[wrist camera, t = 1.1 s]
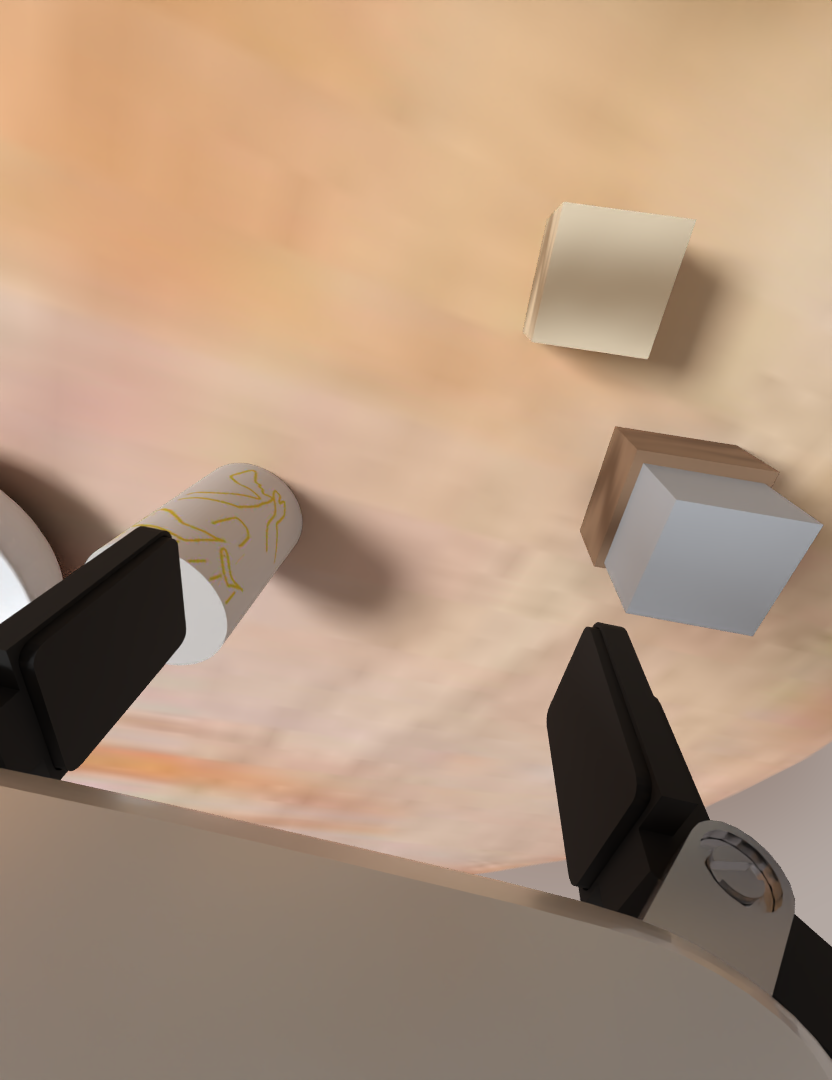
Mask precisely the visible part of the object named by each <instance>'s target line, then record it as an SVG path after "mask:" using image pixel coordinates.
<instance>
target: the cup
mask: <svg viewBox="0 0 832 1080" xmlns="http://www.w3.org/2000/svg"><path fill="white" fill-rule="evenodd" d="M140 526H146V527H151V528H156V529H160V530H165V531H168V532H170V534H171V536H172V539H175V540H176V541H177V542H178V548H179V559H180V569H181V579H182V589H183V599H184V610H185V620H186V636H185V639H184V641H183V643H182V644H181V646H180V647H179V648H178V649H177V651H176V652H175V653H174V654H173V655H172V657H171V658H170V659H169V660H168V661H167V663H166V664H170V665H190V664H196V663H199V662H202V661H205V660H207V659H209V658H210V657H212V656H213V655H214V654H215V653H217V651H218V650H219V649H220V648H221V646H222V645H223V644H224V642H225V641H226V640H227V638H228V637H229V635H230V634H231V633H232V631H233V630H234V629H235V627H236V626H237V624H238V623H239V622H240V620H241V619H242V618H243V616H244V615H245V613H246V612H247V611H248V609H249V608H250V607H251V605H252V604H253V602H254V601H255V600H256V598H257V597H258V596H259V594H260V593H261V591H262V590H263V589H264V587H265V586H266V585H267V583H268V582H269V580H270V579H271V578H272V576H273V575H274V574H275V572H276V571H277V569H278V568H279V567H280V565H281V564H282V563H283V561H284V560H285V558H286V557H287V556H288V554H289V553H290V552H291V550H292V549H293V547H294V546H295V545H296V543H297V542H298V540H299V538H300V535H301V531H302V514H301V510H300V506H299V504H298V502H297V500H296V498H295V496H294V494H293V493H292V491H291V490H290V489H289V487H288V486H287V485H286V484H285V483H284V482H283V481H282V480H281V479H279V478H278V477H277V476H276V475H274V474H273V473H271V472H269V471H267V470H266V469H263V468H261V467H258V466H255V465H251V464H245V463H233V464H227V465H224V466H221V467H219V468H217V469H216V470H214V471H213V472H211V473H210V474H208V475H207V476H205V477H204V478H202V479H201V480H199V481H198V482H196V483H195V484H194V485H192V486H191V487H189V488H188V489H186V490H185V491H183V492H182V493H180V494H179V495H177V496H176V497H174V498H173V499H172V500H170V501H169V502H167V503H166V504H164V505H163V506H161V507H160V508H158V509H157V510H155V511H154V512H152V513H151V514H150V515H148V516H147V517H145V518H144V519H142V520H141V521H139V522H138V523H136V524H135V525H133V526H132V527H130V528H129V529H128V530H126V531H125V532H123V533H122V534H120V535H119V536H117V537H116V538H114V539H113V540H111V541H110V542H108V543H107V544H105V545H104V546H103V547H101V548H100V549H98V550H97V551H95V552H94V553H93V554H92V555H91V556H90V557H89V558H88V560H87V561H86V563H87V562H89V561H90V560H92V559H93V558H94V557H96V556H97V555H99V554H100V553H102V552H103V551H104V550H106V549H107V548H109V547H110V546H112V545H113V544H114V543H116V542H117V541H119V540H120V539H122V538H123V537H124V536H126V535H127V534H129V533H130V532H132V531H133V530H134V529H136V528H138V527H140ZM86 563H85V564H86Z"/></svg>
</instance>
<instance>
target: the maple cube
mask: <svg viewBox="0 0 832 1080" xmlns="http://www.w3.org/2000/svg"><path fill="white" fill-rule="evenodd" d="M695 222H696V219H688V218H681V217H673V216H666V215H658V214H651V213H643V212H636V211H628V210H621V209H614V208H606V207H599V206H591V205H584V204H576V203H569V202H563V203H562V204H561V205H560V206H559V207H558V208H557V209H556V210H555V211H554V212H553V213H552V215H551V216H550V217H549V218H548V219H547V221H546V226H545V230H544V235H543V239H542V244H541V249H540V253H539V258H538V262H537V267H536V272H535V276H534V281H533V285H532V290H531V295H530V299H529V304H528V308H527V313H526V318H525V322H524V327H523V333H524V334H525V335H526V336H527V337H528V338H529V340H530V341H531V342H535V343H542V344H548V345H555V346H562V347H569V348H575V349H582V350H589V351H595V352H602V353H609V354H615V355H622V356H629V357H635V358H642V359H648V357H649V354H650V352H651V349H652V346H653V343H654V340H655V337H656V334H657V331H658V328H659V326H660V323H661V320H662V317H663V314H664V311H665V308H666V305H667V303H668V300H669V297H670V294H671V291H672V288H673V285H674V282H675V280H676V277H677V274H678V271H679V268H680V265H681V262H682V259H683V257H684V254H685V251H686V248H687V245H688V242H689V239H690V236H691V234H692V231H693V228H694V225H695Z"/></svg>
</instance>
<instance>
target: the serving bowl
mask: <svg viewBox="0 0 832 1080" xmlns="http://www.w3.org/2000/svg"><path fill="white" fill-rule="evenodd" d="M62 580H63V578H62V574H61V570H60V567H59V564H58V562H57V559H56V556H55V554H54V552H53V550H52V548H51V547H50V545H49V543H48V541H47V540H46V538H45V537H44V535H43V534H42V532H41V531H40V529H39V528H38V527H37V525H36V524H35V523H34V522H33V520H32V519H31V518H30V517H29V516H28V515H27V514H26V513H25V511H24V510H23V509H22V508H21V507H20V506H19V505H18V504H16V503H15V502H14V501H13V500H12V499H11V498H10V497H9V496H7V495H6V494H5V493H4V492H3V491H1V490H0V623H2V622H3V621H5V620H6V619H8V618H9V617H10V616H12V615H13V614H15V613H16V612H18V611H19V610H20V609H22V608H23V607H25V606H26V605H27V604H29V603H30V602H32V601H33V600H35V599H36V598H37V597H39V596H40V595H42V594H43V593H45V592H46V591H47V590H49V589H50V588H52V587H53V586H55V585H56V584H57V583H59V582H60V581H62Z"/></svg>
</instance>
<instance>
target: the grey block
mask: <svg viewBox="0 0 832 1080" xmlns="http://www.w3.org/2000/svg"><path fill="white" fill-rule="evenodd" d="M822 527H823V524H821V523H820V522H818V521H817V520H816V519H814V518H813V517H811V516H810V515H809V514H807V513H806V512H804V511H803V510H801V509H800V508H799V507H797V506H796V505H794V504H793V503H791V502H790V501H789V500H787V499H786V498H784V497H783V496H782V495H780V494H779V493H777V492H776V491H774V490H773V489H772V488H770V487H769V486H767V485H766V484H764V483H758V482H752V481H746V480H740V479H734V478H728V477H723V476H717V475H711V474H705V473H699V472H693V471H687V470H681V469H675V468H669V467H663V466H657V465H651V464H646V463H643V465H642V468H641V470H640V473H639V476H638V478H637V481H636V483H635V486H634V488H633V491H632V493H631V496H630V498H629V501H628V504H627V506H626V509H625V511H624V514H623V516H622V519H621V521H620V524H619V527H618V529H617V532H616V534H615V537H614V539H613V542H612V544H611V547H610V549H609V552H608V555H607V557H606V560H605V562H604V564H605V566H606V569H607V571H608V573H609V576H610V578H611V580H612V582H613V585H614V587H615V589H616V592H617V594H618V596H619V599H620V601H621V603H622V605H623V608H624V610H625V612H626V613H629V614H634V615H640V616H645V617H651V618H656V619H662V620H667V621H673V622H678V623H683V624H689V625H694V626H700V627H705V628H711V629H716V630H722V631H727V632H733V633H738V634H743V635H749V636H753V635H754V634H755V632H756V630H757V629H758V627H759V626H760V624H761V623H762V621H763V619H764V618H765V616H766V615H767V613H768V612H769V610H770V608H771V607H772V605H773V604H774V602H775V600H776V599H777V597H778V596H779V594H780V593H781V591H782V589H783V588H784V586H785V585H786V583H787V582H788V580H789V578H790V577H791V575H792V574H793V572H794V571H795V569H796V567H797V566H798V564H799V563H800V561H801V560H802V558H803V556H804V555H805V553H806V552H807V550H808V549H809V547H810V545H811V544H812V542H813V541H814V539H815V538H816V536H817V534H818V533H819V531H820V530H821V528H822Z"/></svg>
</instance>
